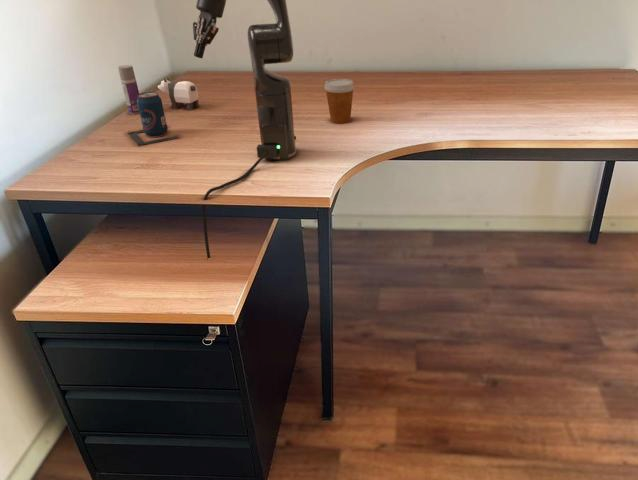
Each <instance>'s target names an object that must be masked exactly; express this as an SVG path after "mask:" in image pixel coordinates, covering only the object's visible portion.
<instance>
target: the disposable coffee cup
mask: <svg viewBox="0 0 638 480" xmlns="http://www.w3.org/2000/svg"><path fill="white" fill-rule="evenodd" d="M323 88H324V90H325V93H326V99H327V105H328V111H329V116H330V122H331V123H334V124H346V123H349V122H351V117H352V107H353V105H352V104H353V95H354V89H355V84H354V81H353V80H351V79H347V78H332V79H328V80H326V81H325V83H324V86H323Z"/></svg>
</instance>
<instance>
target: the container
mask: <svg viewBox="0 0 638 480" xmlns="http://www.w3.org/2000/svg"><path fill="white" fill-rule="evenodd" d="M117 69H118V74H119V78H120V83H121V87H122V91H123V94H124V99H125V103H126V106H127V107H126V108H127V111H128V114H130V115H140V113H139V109H138V104H137V99H138V94H140V90H139V87H138V82H137V78H136V75H135V71H134V67H133V64H132V65H131V64H123V65H119V66H118V67H117Z"/></svg>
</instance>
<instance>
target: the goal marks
mask: <svg viewBox="0 0 638 480" xmlns="http://www.w3.org/2000/svg"><path fill="white" fill-rule="evenodd" d="M167 128H168V126H167ZM141 133H142V134H143V133H144V130H143V129H139V130H136V131H130V132H129V131H128V132H127V135H129V136H130V138H131V139H132V141H134V142H135V143H136V144H137V146H138V147H140V146H145V145H150V144H151V145H152V144H156V143H160V142H166V141H171V140H172V141H173V140H176V139H179V138H180V137H179V136H178V135H174V136H169V137H164V138H159V139H153V140H149V141H144V140H143V139H142V138H141V137H140V136H139V135H138V134H141Z"/></svg>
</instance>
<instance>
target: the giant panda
mask: <svg viewBox="0 0 638 480" xmlns="http://www.w3.org/2000/svg"><path fill="white" fill-rule="evenodd" d="M157 89H159V90H160V92H162V93H163V94H165V95H169V100H170V103H171V107H170V108H171V109H179V106H180V107H182V106H185V104H186V110H190V111H192V110H194V108H198V107H199V92H198V89H197V86H196V85H195V84H194V83H193V82H192V81H188V80H183V81H173V82H172V81H171V80H170V78H169V77H166V78H164V79H162V81H160V84H158V85H157Z"/></svg>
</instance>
